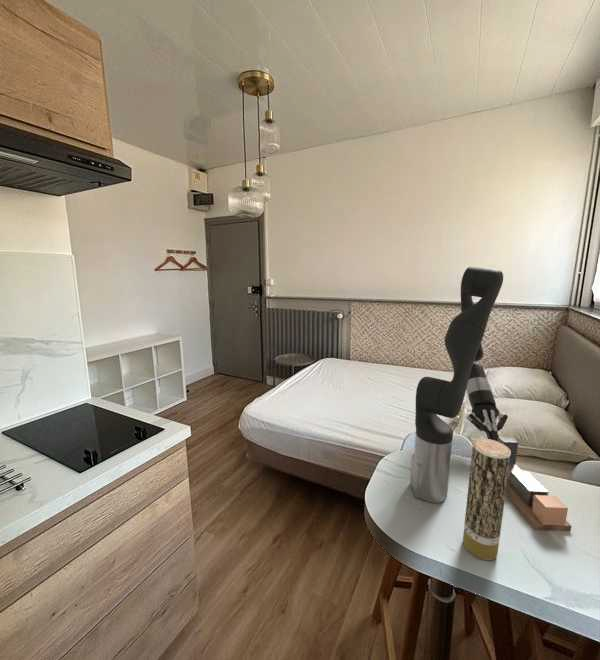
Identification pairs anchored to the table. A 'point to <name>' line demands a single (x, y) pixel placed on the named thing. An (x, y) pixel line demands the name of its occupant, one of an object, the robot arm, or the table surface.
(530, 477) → the outer sleeve
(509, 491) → the guide board
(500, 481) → the bark covered log
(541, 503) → the socket
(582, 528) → the table surface
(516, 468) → the brushed grey metal block
